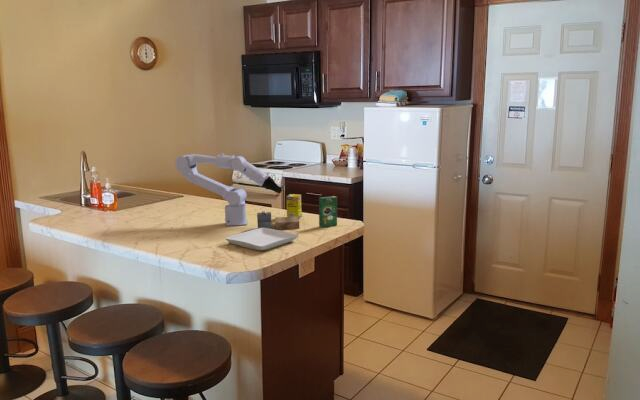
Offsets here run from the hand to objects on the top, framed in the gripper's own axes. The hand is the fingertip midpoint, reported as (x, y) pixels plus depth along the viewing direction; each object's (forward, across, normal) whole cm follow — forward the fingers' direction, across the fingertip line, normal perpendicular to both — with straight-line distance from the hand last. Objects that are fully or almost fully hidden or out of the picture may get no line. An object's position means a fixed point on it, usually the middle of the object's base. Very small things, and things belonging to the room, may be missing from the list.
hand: (280, 191), depth 227 cm
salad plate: (+9, -23, +22) cm, 33 cm away
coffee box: (+26, +1, +1) cm, 26 cm away
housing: (+4, -2, +18) cm, 18 cm away
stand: (+11, +2, +11) cm, 16 cm away
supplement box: (+11, +17, +7) cm, 21 cm away
